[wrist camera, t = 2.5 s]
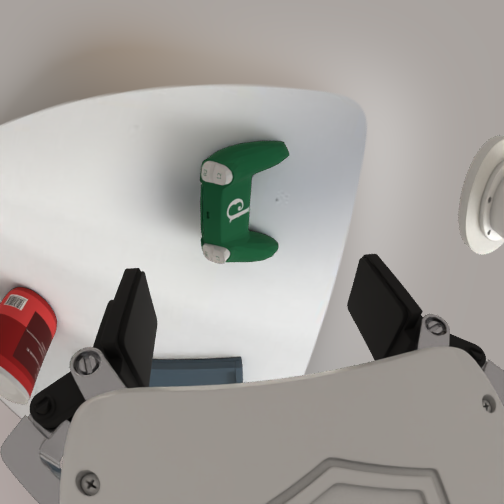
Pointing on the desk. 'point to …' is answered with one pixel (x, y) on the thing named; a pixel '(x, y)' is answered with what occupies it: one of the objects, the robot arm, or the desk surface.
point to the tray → (196, 372)
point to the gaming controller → (235, 201)
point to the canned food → (23, 342)
